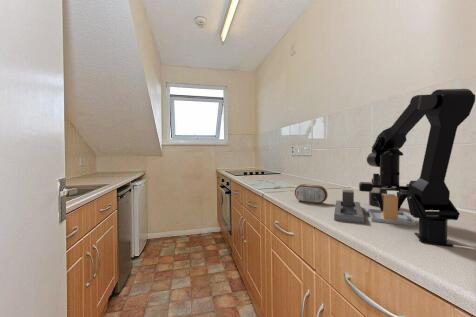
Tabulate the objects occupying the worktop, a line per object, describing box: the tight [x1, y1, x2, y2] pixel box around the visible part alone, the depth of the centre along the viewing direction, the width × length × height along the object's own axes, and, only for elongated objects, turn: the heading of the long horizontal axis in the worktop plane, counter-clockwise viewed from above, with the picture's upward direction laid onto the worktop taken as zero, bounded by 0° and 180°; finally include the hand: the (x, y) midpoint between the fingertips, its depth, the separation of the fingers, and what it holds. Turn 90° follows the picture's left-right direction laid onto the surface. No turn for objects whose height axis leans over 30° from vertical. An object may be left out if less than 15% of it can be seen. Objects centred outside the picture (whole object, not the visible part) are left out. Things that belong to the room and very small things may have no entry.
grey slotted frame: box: [333, 199, 365, 224], centre depth 85 cm, size 24×9×2 cm, turn 154°
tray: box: [367, 207, 417, 227], centre depth 78 cm, size 14×12×2 cm
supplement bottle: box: [368, 178, 388, 208], centre depth 96 cm, size 7×7×12 cm
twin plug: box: [342, 189, 355, 207], centre depth 90 cm, size 6×4×8 cm, turn 154°
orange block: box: [381, 193, 398, 220], centre depth 78 cm, size 6×4×8 cm, turn 154°
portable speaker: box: [294, 183, 328, 205], centre depth 105 cm, size 15×3×8 cm, turn 58°
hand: (389, 212), depth 78 cm, fingers closed on orange block, 4 cm apart
